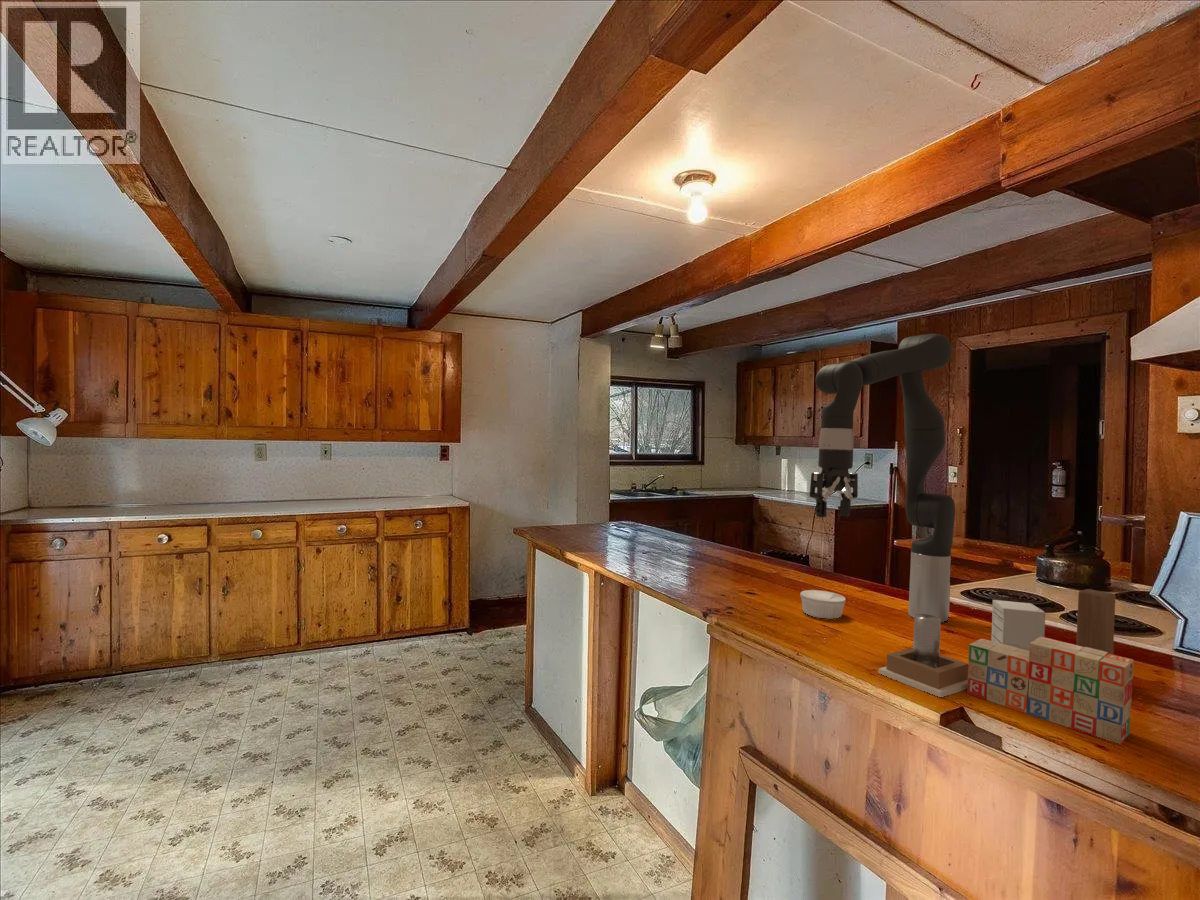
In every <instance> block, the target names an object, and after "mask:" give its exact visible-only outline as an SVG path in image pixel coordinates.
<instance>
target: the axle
mask: <svg viewBox="0 0 1200 900" xmlns="http://www.w3.org/2000/svg"><path fill="white" fill-rule="evenodd" d="M913 619H914V620H913V622H914V623H913V643H912V644H913V645H912V648H913V661H916V662H919V663H921V664H924V665H927V666H930V667H933V668H938V667H939V654H940V651H941V650H940V649H941V628H942V627H941V624H942V622H941V619H940V618H938V617H936V616H932V615H926V614H915V616H914V618H913Z"/></svg>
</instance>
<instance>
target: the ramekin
mask: <svg viewBox="0 0 1200 900" xmlns="http://www.w3.org/2000/svg"><path fill="white" fill-rule="evenodd" d="M799 596H800V598H801V606H802V611H803V613H804V614H805V613H806V614H805V615H807V614H808V615H810V616H809V617H811V616H813V617H812V618H814V617H818V618H817V619H819V618H828V619H832V618H838V619H840V618H841V617H842V615H843V611H844V607H845V604H846V597H845V596H844V595H841V594H839V593H835V592H831V591H826V590H818V589H808V590H806V589H805V590H803V591H801V592H800V595H799ZM808 615H807V616H808ZM839 617H840V618H839ZM828 619H827V620H828Z"/></svg>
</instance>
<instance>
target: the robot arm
mask: <svg viewBox="0 0 1200 900" xmlns="http://www.w3.org/2000/svg"><path fill="white" fill-rule="evenodd" d="M952 351H953V350H952V345H951V342H950V340H949V338H948V337H947V336H945V335H943V334H939V333H928V334H919V335H912V336H908V337H905V338H903V339H902V340H901V341H900V343H899V345H898V348H897V349H891V350H883V351H878V352H875V353H870V354H866V355H863V356H860V357H857V358H855V359H852V360H851V359H850V360H847V361H842V362H841V361H840V362H836V363H831V364H827V365H824V366H822V367H821V368H820V369H819V370H818V372H817V373H816V375H815V379H814V380H815V385H816V388H817V389H818V390H819V391H820V392H821V393H823V394H826V395H835V396H834V399H833V401H832V402H830V403H828V404H826V405H824V406H823V407H822V408H821V409H822V410H821V416H820V417H821V419H820V421H821V422H820V433H819V441H818V443H819V445H818V463H817V464H818V467H819V468H821V472H819V471H818V472H817V471H812V472H811V474H810V475H811V476H810V487H809V498H812V499H814V500H815V502H816V503H815V509H816V510H815V514H816V517H818V518H826V517H827V510H828V509H827V507H828V503H827V500H828V497H829V496H830V495H832V494H833V492H836V493H838V495H839V498H840V503H839V504H840V507H839V515H840V516H842V517H849V516H850V515H851V505H852V504H851V501H853V499H855V498H856V499H857V498H858V495H859V494H858V493H859V491H858V489H859V488H858V486H859V485H858V482H859V480H858V479H859V478H858V476H859V475H858V473H857V472H849V470H850V469H853V466H854V465H853V463H854V446H855V445H854V442H855V441H854V437H855V436H854V415H855V414H854V412H855V409H856V406H857V404H858V400H859V397H860V395H861V391H862V387H865V386H870V385H872V384H875V383H879V382H881V381H885V380H887V379H890V378H895V377H897V376H899V379H900V385H901V390H902V399H903V402H902V403H903V416H904V418H903V419H904V422H903V423H904V444H905V454H906V455H905V456H906V486H905V487H906V488H905V489H906V490H905V515H906V518H907V519H906V520H907V522H908V523H909V524H910V526H911V525H912V526H914V527H918V528H919V527H921V528H927V529H934V530H933V533H932V535H930V536H928V537H926V538H921V539H915V540H913V541H912V542H911V544H910V545H911V547H910V572H909V574H910V575H909V588H908V589H909V591H908V612H907V613H908V616H909V617H911V618H913V619H914V616H915V614H926V615H932V616H936V617H938V618H940V619H941V623H945V622H944V621H947V620H948V621H949V618H950V601H951V600H950V598H951V582H950V581H951V580H950V579H951V557H952V547H953V540H954V528H955V520H956V519H955V518H956V503H955V501H954V499H953V497H952V496H950V495H948V494H940V493H939V494H938V493H929V492H927V493H926V492H925V483H926V478H927V475H928V473H929V472H930V469H931V468H932V467H933V464H934V463H935V462H936V461H937V460H938V458H939V457H940V455H941V454H942V452H943V450H944V447H945V445H946V435H945V432H946V431H945V430H946V428H945V419H944V417H943V415H942V413H941V411H940V409H939V408H938V407H937V405H936V404H935V402H934V401H933V399H932V398H931V397H930V395H929V394H928V392H927V389H926V386H925V382H924V381H925V380H924V375H923V374H924V373H923V371H924V372H925V371H927V372H928V371H935V370H938V369H941V368H943V367H945V366H946V365H947V364H948V363H949V362H950V359H951V356H952V353H953V352H952ZM851 491H852V492H851ZM948 617H949V618H948ZM948 621H947V622H948Z"/></svg>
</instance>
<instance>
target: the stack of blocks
mask: <svg viewBox="0 0 1200 900" xmlns="http://www.w3.org/2000/svg"><path fill="white" fill-rule="evenodd" d="M967 660H968V686H967V689H966V693H967V694H968V695H971V696H974V697H977V698H980V699H982V700H983V699H984V700H986V701H988V702H991V703H994V704H997V705H999V706H1003V707H1006V708H1008V709H1012V710H1015V711H1018V712H1020V713H1023V714H1028V715H1029V716H1033V717H1036V718H1039V719H1043V720H1046V721H1048V722H1052V723H1054V724H1057V725H1061V726H1063V727H1066V728H1069V727H1070V728H1069V729H1072V728H1073V729H1072V730H1074V729H1077V730H1080V731H1083V732H1086V733H1089V734H1092V735H1095V736H1094V737H1096V736H1097V737H1096V738H1098V737H1101V738H1104V739H1106V740H1105V741H1107V740H1110V741H1113V742H1115V743H1114V744H1116V743H1119V744H1121V743H1122V742H1123V741H1124V740H1126V739H1127V737H1128V736H1130V733H1131V711H1132V701H1133V700H1132V699H1133V698H1132V697H1133V686H1134V663H1135V661H1134V659H1133V658H1129V657H1125V656H1124V657H1123V656H1120V655H1118V654H1117V655H1116V654H1114V655H1113V654H1108V652H1105V651H1101V650H1097V649H1093V648H1088V647H1082V646H1078V645H1076V644H1073V643H1069V642H1065V641H1060V640H1056V639H1052V638H1047V637H1045V636H1044V637H1039V638H1037V639H1036V640H1035V641H1033V642H1031V643H1030V649H1029V651H1027V650H1023V649H1019V648H1016V647H1012V646H1009V645H1005V644H1001V643H997V642H993V641H991V640H989V639H984V638H979V639H977V640H975V641H974V642H971V643H970V644H968V658H967ZM1077 730H1076V731H1077ZM1080 731H1079V732H1080ZM1083 732H1082V733H1083ZM1086 733H1085V734H1086ZM1089 734H1088V735H1089ZM1092 735H1091V736H1092ZM1101 738H1100V739H1101ZM1104 739H1103V740H1104ZM1110 741H1109V742H1110ZM1113 742H1112V743H1113ZM1124 742H1125V741H1124ZM1124 742H1123V743H1124ZM1123 743H1122V744H1123ZM1119 744H1118V745H1119ZM1122 744H1121V745H1122Z"/></svg>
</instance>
